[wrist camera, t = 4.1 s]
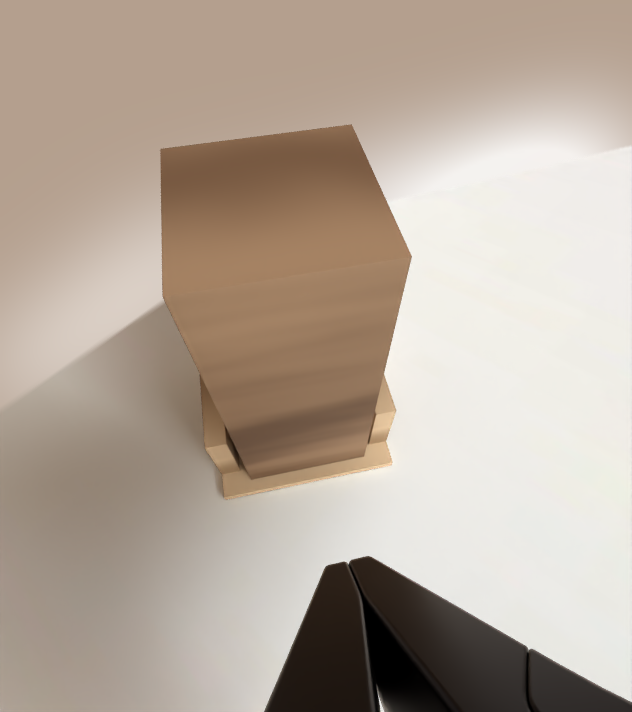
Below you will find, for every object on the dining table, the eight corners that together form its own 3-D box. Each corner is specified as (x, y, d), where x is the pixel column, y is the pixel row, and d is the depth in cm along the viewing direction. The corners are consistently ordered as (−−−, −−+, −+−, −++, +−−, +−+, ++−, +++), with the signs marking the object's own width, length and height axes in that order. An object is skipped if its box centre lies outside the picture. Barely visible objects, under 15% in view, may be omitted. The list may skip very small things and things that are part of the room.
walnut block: (364, 456, 19) (411, 256, 9) (251, 479, 18) (162, 296, 8) (338, 362, 21) (351, 124, 11) (239, 380, 21) (160, 149, 11)
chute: (391, 465, 19) (404, 434, 16) (225, 499, 18) (206, 474, 15) (343, 310, 24) (346, 264, 21) (211, 333, 23) (194, 288, 20)
